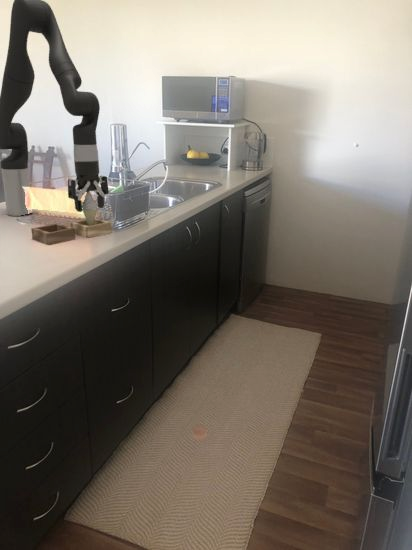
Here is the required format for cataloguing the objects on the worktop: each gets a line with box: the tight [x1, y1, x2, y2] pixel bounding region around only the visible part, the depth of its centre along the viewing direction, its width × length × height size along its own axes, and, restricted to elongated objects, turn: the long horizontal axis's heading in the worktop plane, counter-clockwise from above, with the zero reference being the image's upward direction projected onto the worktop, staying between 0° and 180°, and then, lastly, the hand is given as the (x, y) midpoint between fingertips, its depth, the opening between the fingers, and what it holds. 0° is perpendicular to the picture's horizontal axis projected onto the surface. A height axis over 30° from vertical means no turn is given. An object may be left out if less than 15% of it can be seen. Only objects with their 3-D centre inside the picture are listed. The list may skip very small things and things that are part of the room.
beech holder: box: [70, 218, 112, 239], centre depth 145 cm, size 9×9×4 cm
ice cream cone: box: [82, 191, 98, 226], centre depth 143 cm, size 5×5×15 cm
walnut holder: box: [30, 223, 76, 246], centre depth 137 cm, size 9×9×4 cm
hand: (90, 209), depth 143 cm, fingers open, 8 cm apart
